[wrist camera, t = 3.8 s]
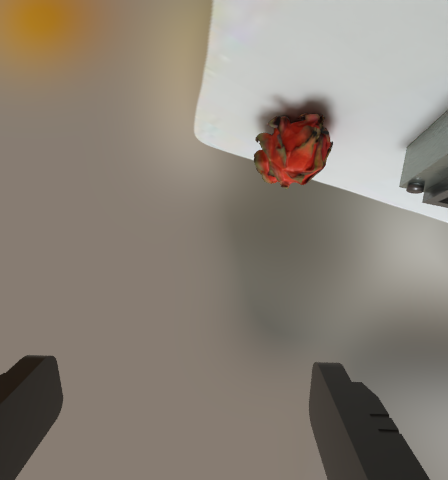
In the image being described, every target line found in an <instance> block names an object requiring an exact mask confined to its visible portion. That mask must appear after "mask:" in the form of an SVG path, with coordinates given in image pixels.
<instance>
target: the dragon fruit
mask: <svg viewBox="0 0 448 480" xmlns="http://www.w3.org/2000/svg"><path fill="white" fill-rule="evenodd" d="M302 116H304V117H303V118H302ZM300 117H301V119H305V118H306V119H305V120H303V121H298V122H294V123H292V124H291V123H290V121H289V119H288V118H287V117H286V116H284V117H280V116H278V117H275V118H274V119H272V120H271V121H270V122H269V123H268V125H269V126H270V127H274V133H273V134H272V135H271V134H268V133H261V134H259V135H258V136H257V137H256V142H258V141H260V143H259V144H260V145H261V148H262V149H263V150H258V151H257V152H256V153H255V154H254V157H255V158H254V163H255V165H256V167H257V168H256V169H257V171H258V172H259V173H260V174H261V175H262V179H263V180H264V181H265V182H268V183H271V184H272V183H276V182H277V181H278V182H280V184H281V187H283V188H286V189H288V188H289V186H290V184H291V183H293V182H297V183H299V184H301V185H304V184H306V183H308V182H309V181H310V180H311V179H312V178H313V177H314V176H315V175H316V174H318V173H319V172H320V171H321V170H322V169H323V168H324V167H325V165H326V160H327V157H328V155H329V153H330V151H331V149H332V148H331V147H332V145H333V141H332V142H330V136H329V132H328V131H327V129H326V128H325V129H324V127H323V126H322V125H323V124H322V123H323V120H324V119H325V118H324V117H323V115H322V116H321V117H319V115H318V114H313V113H312V114H311V115H310V114H308V113H305V114H301V115H300V116H299V117H298V118H300ZM329 147H330V148H329Z"/></svg>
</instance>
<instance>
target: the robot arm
mask: <svg viewBox="0 0 448 480" xmlns="http://www.w3.org/2000/svg"><path fill="white" fill-rule="evenodd" d="M62 403H63V394H62V388H61V382H60V376H59V371H58V365H57V361H56V358H55V357H54V356H37V355H27V356H25V357H23V358H22V359H20V360H19V361H18V362H17V363H16V364H15V365H14V366H13V367H12V368H11V369H9V370H8V371H7V372H6V373H3V374H1V375H0V480H15V478H16V477H17V476H18V474H19V473H20V471H21V470H22V468H23V467H24V465H25V464H26V463H27V461H28V460H29V458H30V457H31V455H32V454H33V452H34V451H35V450H36V448H37V447H38V445H39V444H40V442H41V441H42V439H43V438H44V437H45V435H46V434H47V432H48V431H49V429H50V428H51V426H52V425H53V424H54V422H55V420H56V419H57V417H58V415H59V413H60V411H61V408H62ZM309 415H310V421H311V426H312V429H313V433H314V436H315V440H316V443H317V446H318V449H319V453H320V456H321V459H322V463H323V465H324V469H325V472H326V475H327V479H328V480H430V479H429V477H428V476H427V474H426V473H425V471H424V469H423V468H422V466H421V465H420V463H419V461H418V460H417V458H416V457H415V455H414V454H413V452H412V450H411V449H410V447H409V446H408V444H407V442H406V441H405V439H404V438H403V436H402V434H399V430H398V428H397V427H396V425H395V424H394V422H393V420H392V419H391V418H389V414H388V412H387V411H386V409H385V408H384V406H383V404H382V403H381V402H380V400H379V398H378V397H377V396H376V395H375V394H374V393H373V392H372V391H371V390H369V389H368V388H367V387H366V386H365V385H364V384H363V383H362V382H351V380H350V378H349V376H348V374H347V373H346V371H345V369H344V367H343V366H342V364H340V363H320V362H319V363H318V362H315V363H314V364H313V369H312V379H311V389H310V399H309Z"/></svg>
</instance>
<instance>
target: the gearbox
mask: <svg viewBox="0 0 448 480" xmlns="http://www.w3.org/2000/svg"><path fill="white" fill-rule="evenodd" d="M399 187H402V188H407V190H406V191H407V192H409V193H422V192H424V196H423V202H422V203H427V204H432V205H437V206H441V207H446V208H448V111H447V112H445V113H444V114H443V115H442V116H441V117H440V118H439V119H438V120H437V121H436V122H434V123H433V124H432V125H431V126H430V127H429V128H428V129H427V130H426V131H425V132H424V133H422V134H421V135H420V136H419V137H418V138H417V139H416V140H415V141H414V142H413V143H411V144H410V145H409V146H408V147H407V150H406V155H405V160H404V165H403V170H402V175H401V181H400V186H399Z"/></svg>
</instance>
